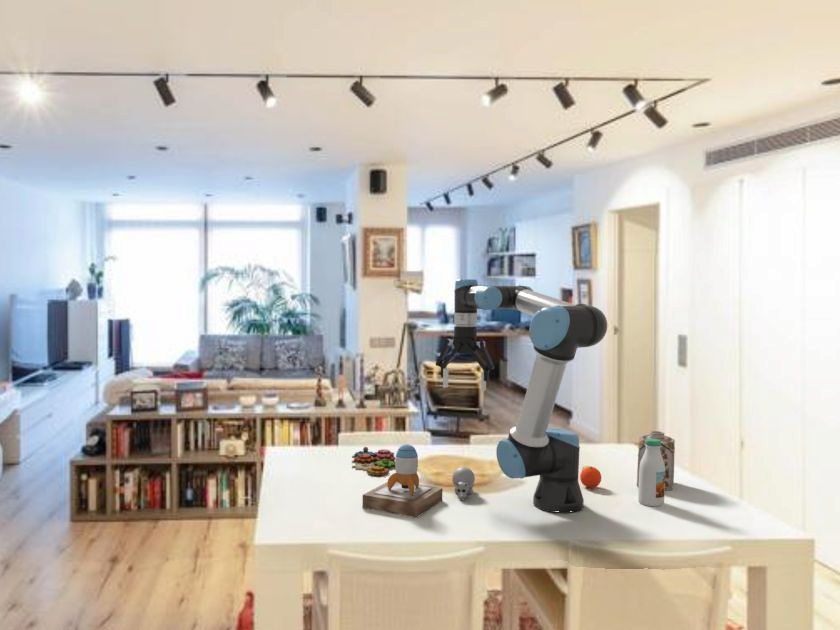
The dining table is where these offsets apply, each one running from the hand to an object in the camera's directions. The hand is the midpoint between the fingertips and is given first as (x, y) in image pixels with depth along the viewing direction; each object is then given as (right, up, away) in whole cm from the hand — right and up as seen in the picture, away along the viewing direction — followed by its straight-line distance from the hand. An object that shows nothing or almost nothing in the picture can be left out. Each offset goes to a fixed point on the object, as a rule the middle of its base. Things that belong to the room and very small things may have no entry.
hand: (464, 389), depth 248 cm
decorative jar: (+65, -33, +4) cm, 73 cm away
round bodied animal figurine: (-1, -33, -12) cm, 35 cm away
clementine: (+42, -33, -1) cm, 53 cm away
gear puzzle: (-32, -31, +23) cm, 50 cm away
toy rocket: (-20, -29, -22) cm, 41 cm away
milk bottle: (+57, -34, -17) cm, 68 cm away
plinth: (-20, -33, -22) cm, 44 cm away
